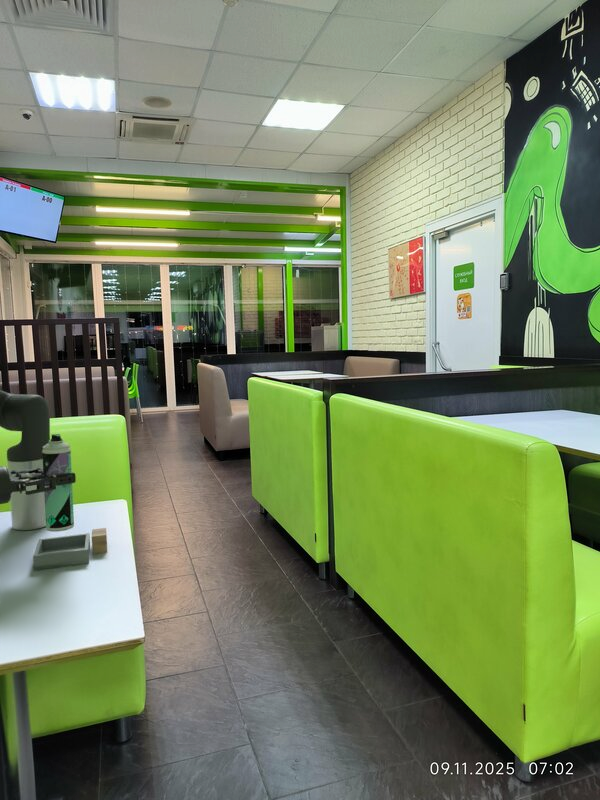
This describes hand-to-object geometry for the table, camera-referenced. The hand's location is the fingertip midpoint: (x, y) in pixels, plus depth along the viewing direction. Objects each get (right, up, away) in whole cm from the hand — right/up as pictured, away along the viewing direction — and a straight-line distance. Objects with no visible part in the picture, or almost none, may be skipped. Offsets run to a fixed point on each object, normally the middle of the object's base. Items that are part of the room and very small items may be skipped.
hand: (70, 474), depth 119 cm
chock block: (+4, -17, +5) cm, 19 cm away
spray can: (-2, -11, -1) cm, 11 cm away
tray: (-2, -18, +1) cm, 18 cm away
